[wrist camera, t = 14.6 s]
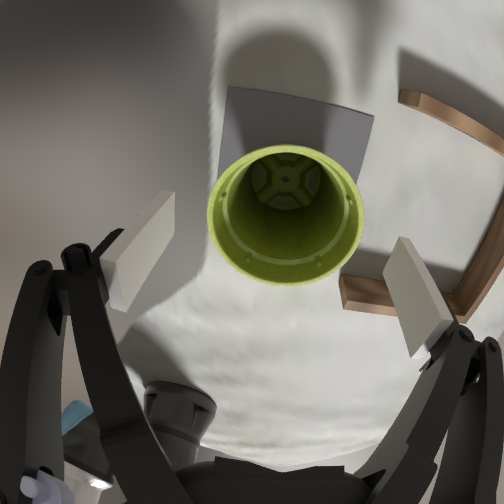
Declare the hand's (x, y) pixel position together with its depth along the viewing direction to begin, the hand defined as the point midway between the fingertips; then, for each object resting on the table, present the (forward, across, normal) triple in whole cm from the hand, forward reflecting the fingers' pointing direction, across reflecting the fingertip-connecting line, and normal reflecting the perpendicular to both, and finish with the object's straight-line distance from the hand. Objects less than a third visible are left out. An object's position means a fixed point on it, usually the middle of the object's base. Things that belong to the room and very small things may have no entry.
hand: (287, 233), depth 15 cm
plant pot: (+10, 0, 0) cm, 10 cm away
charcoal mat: (+10, 0, 0) cm, 10 cm away
